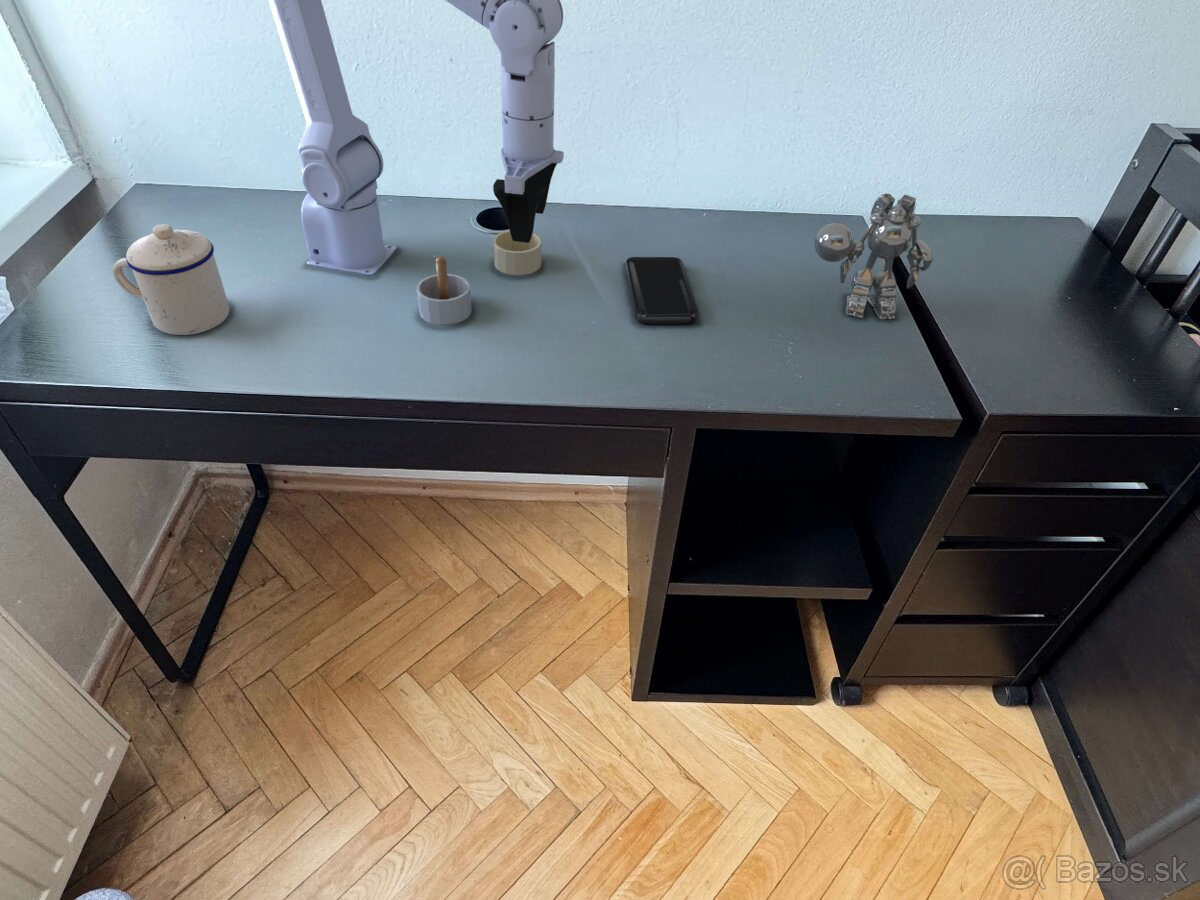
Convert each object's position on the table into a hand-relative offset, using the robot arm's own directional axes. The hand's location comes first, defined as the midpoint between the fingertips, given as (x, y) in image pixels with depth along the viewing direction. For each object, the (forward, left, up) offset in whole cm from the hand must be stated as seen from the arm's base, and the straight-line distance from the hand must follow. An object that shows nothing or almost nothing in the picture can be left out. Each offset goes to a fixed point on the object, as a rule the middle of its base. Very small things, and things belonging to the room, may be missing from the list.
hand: (528, 225), depth 97 cm
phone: (+16, +6, -10) cm, 20 cm away
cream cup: (-4, +7, -10) cm, 13 cm away
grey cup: (-9, -7, -10) cm, 15 cm away
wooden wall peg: (-9, -7, -10) cm, 15 cm away
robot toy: (+42, +11, -10) cm, 44 cm away
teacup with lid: (-39, -17, -10) cm, 43 cm away
